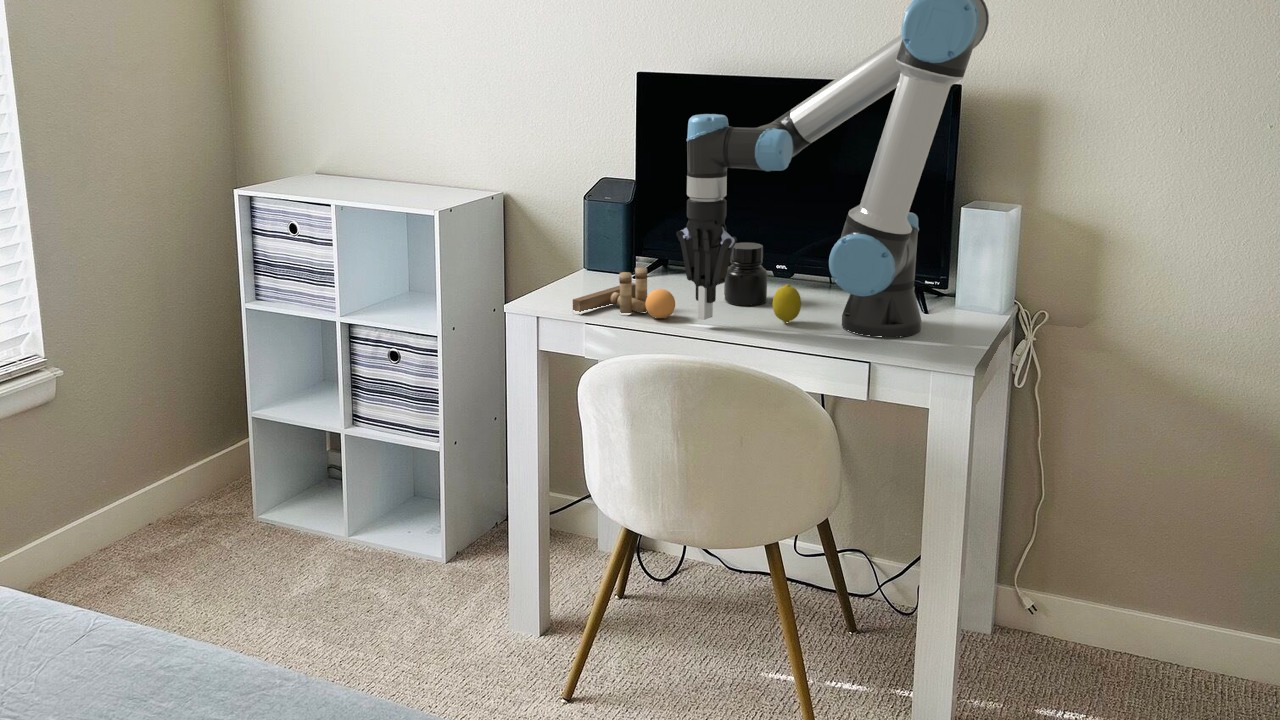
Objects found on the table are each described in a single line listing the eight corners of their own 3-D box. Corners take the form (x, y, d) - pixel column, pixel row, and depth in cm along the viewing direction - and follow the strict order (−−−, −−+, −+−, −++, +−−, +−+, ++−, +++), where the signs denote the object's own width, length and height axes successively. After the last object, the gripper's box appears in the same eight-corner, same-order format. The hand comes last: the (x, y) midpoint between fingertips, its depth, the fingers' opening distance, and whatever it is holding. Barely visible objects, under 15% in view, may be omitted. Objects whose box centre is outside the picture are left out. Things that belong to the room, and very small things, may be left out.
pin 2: (650, 308, 242) (649, 268, 239) (642, 311, 240) (642, 271, 237) (640, 306, 243) (640, 267, 241) (633, 309, 241) (632, 269, 239)
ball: (654, 304, 239) (677, 319, 236) (636, 313, 235) (659, 327, 232) (661, 280, 236) (684, 294, 233) (643, 288, 231) (666, 302, 229)
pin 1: (634, 313, 238) (634, 273, 236) (626, 316, 236) (626, 275, 234) (625, 311, 240) (624, 271, 237) (617, 314, 238) (616, 273, 235)
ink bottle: (759, 294, 252) (760, 240, 249) (774, 304, 244) (776, 248, 241) (716, 298, 250) (717, 243, 246) (731, 308, 242) (732, 251, 238)
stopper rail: (636, 297, 250) (636, 283, 250) (580, 315, 237) (579, 301, 236) (629, 296, 252) (629, 282, 251) (572, 313, 239) (572, 299, 238)
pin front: (649, 301, 238) (618, 291, 243) (641, 303, 236) (610, 293, 241) (648, 313, 239) (617, 302, 244) (640, 315, 237) (609, 304, 242)
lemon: (796, 328, 227) (798, 288, 225) (769, 325, 229) (770, 286, 227) (803, 321, 232) (804, 282, 230) (775, 318, 234) (777, 279, 232)
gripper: (746, 198, 220) (743, 319, 227) (691, 191, 228) (690, 308, 235) (723, 204, 214) (721, 327, 221) (667, 196, 222) (667, 316, 229)
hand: (705, 317), depth 228 cm, fingers closed
